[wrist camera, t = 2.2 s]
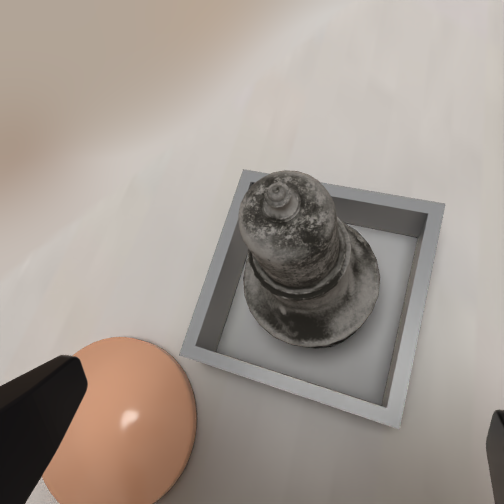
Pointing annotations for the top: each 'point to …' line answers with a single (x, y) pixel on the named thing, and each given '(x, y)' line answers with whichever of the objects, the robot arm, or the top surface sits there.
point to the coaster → (125, 427)
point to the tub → (348, 211)
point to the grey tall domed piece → (304, 262)
